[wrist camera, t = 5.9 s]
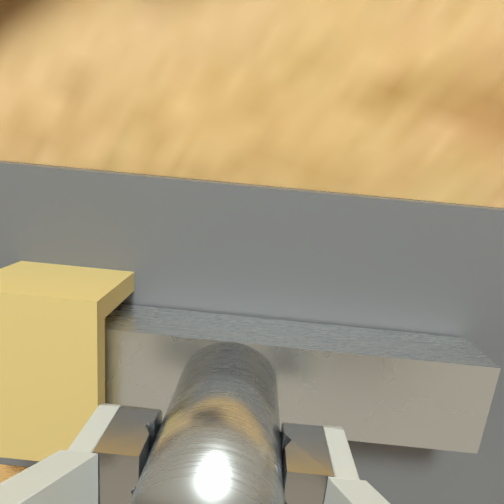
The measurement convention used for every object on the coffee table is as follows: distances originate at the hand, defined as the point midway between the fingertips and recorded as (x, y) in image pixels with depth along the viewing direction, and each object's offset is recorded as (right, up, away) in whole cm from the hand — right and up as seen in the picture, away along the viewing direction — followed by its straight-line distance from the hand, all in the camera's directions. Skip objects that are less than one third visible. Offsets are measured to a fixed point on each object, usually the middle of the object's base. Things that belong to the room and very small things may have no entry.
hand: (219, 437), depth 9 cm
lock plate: (+3, +1, +6) cm, 7 cm away
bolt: (0, +1, +4) cm, 4 cm away
